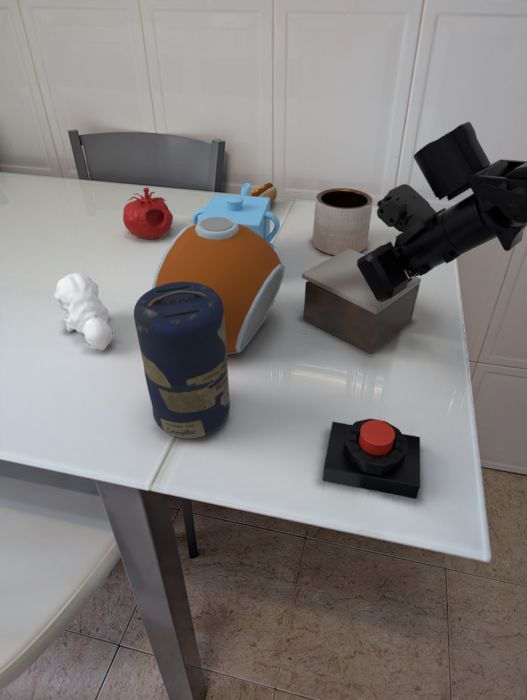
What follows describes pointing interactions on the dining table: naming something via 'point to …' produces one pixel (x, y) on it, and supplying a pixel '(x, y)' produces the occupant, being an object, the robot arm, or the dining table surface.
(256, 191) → the food
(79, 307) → the white animal figurine
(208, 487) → the dining table surface
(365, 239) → the planter
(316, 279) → the grey square plate
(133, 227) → the red tomato
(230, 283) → the alarm clock
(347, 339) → the wooden box
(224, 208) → the teapot
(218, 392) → the canister
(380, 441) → the button
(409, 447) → the switch block
